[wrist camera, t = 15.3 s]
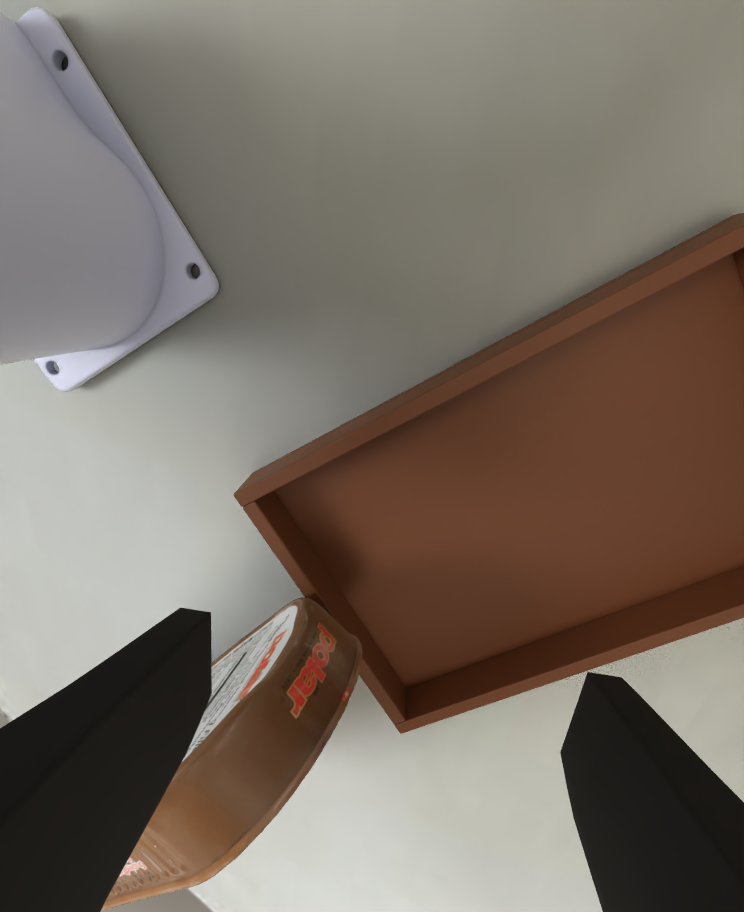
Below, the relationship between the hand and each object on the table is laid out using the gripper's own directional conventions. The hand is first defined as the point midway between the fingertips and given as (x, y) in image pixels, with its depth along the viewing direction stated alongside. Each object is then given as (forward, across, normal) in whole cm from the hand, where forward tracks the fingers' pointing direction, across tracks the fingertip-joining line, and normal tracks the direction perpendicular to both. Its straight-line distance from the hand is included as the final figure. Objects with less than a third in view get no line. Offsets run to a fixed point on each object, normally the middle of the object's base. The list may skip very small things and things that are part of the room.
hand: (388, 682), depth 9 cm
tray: (+10, -5, 0) cm, 12 cm away
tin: (+9, +6, +9) cm, 14 cm away
